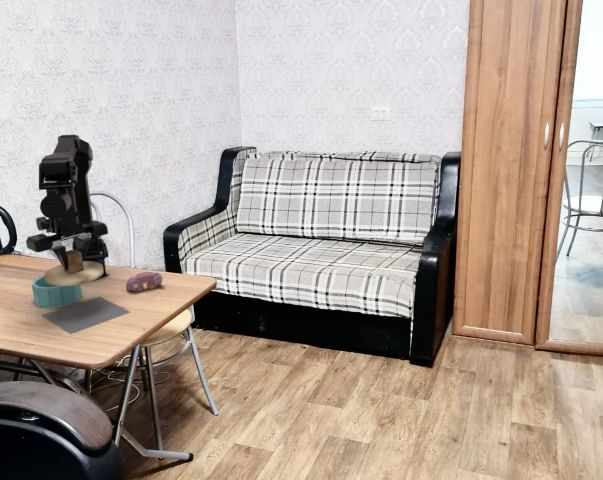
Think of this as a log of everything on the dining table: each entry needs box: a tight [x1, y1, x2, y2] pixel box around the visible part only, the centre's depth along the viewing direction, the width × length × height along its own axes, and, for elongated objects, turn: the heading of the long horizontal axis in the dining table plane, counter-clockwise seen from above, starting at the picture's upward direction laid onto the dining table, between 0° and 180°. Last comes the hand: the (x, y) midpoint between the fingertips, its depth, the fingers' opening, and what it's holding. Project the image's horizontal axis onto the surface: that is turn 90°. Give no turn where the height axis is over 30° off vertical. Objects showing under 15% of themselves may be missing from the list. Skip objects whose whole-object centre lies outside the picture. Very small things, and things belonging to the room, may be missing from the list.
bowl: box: [31, 275, 83, 309], centre depth 157 cm, size 12×12×6 cm
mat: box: [41, 296, 131, 335], centre depth 148 cm, size 16×16×1 cm
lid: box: [43, 248, 104, 286], centre depth 147 cm, size 14×14×6 cm
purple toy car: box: [125, 270, 163, 292], centre depth 163 cm, size 10×5×7 cm, turn 117°
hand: (73, 267), depth 147 cm, fingers closed on lid, 3 cm apart
